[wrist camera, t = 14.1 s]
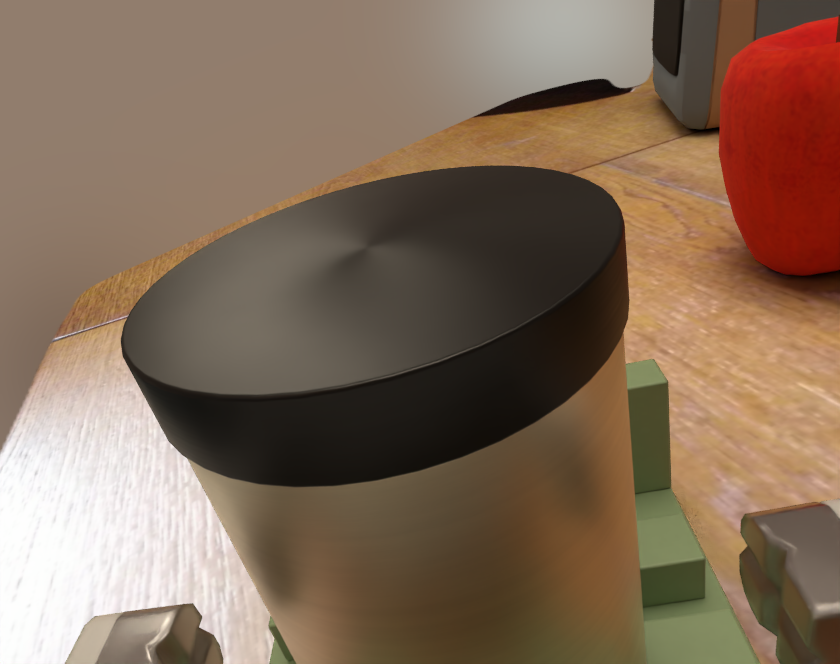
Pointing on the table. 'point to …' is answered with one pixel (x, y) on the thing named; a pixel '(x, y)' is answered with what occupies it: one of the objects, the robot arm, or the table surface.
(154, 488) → the table surface
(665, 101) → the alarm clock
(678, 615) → the drying rack
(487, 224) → the travel mug
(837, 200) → the apple
